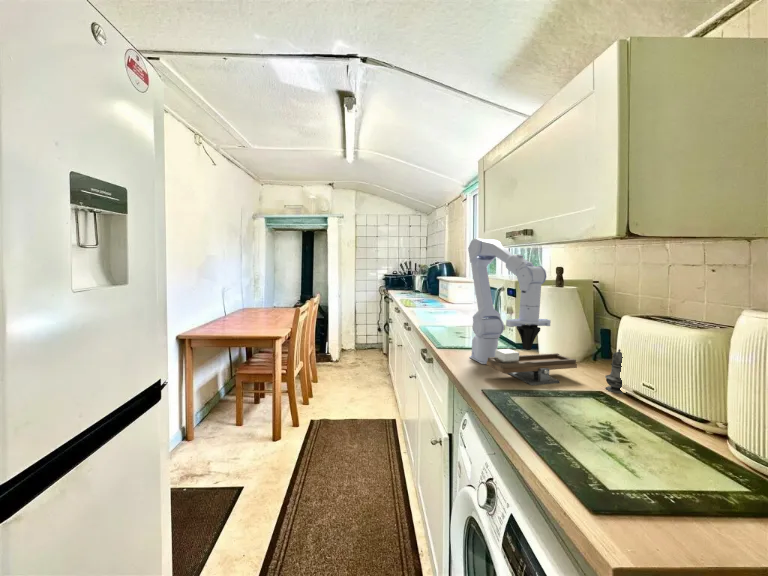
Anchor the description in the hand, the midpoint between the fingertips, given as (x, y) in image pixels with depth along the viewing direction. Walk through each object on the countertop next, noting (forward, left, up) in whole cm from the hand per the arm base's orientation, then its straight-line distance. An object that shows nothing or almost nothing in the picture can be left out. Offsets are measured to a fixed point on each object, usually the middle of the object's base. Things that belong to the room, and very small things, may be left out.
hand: (526, 349), depth 112 cm
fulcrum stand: (0, +2, -9) cm, 9 cm away
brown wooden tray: (0, +2, -5) cm, 6 cm away
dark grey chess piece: (+15, +19, -9) cm, 26 cm away
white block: (0, -7, -4) cm, 8 cm away
